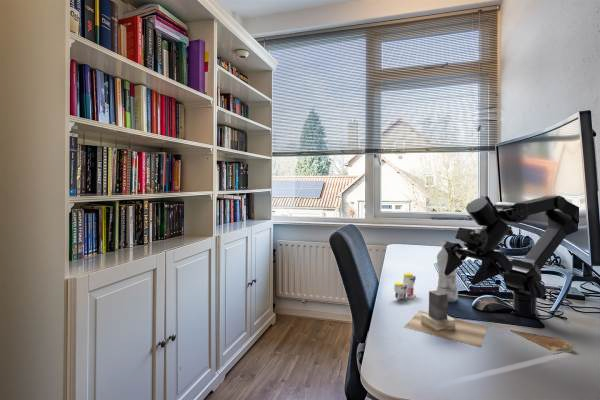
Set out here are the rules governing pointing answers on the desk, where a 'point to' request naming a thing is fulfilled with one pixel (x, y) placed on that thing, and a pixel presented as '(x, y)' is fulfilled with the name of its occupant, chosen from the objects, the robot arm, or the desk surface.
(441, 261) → the plastic bottle
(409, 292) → the toy figures
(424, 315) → the grey block on base
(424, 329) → the oak board
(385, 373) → the desk surface
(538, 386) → the desk surface
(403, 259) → the desk surface
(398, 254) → the desk surface
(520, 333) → the shard
